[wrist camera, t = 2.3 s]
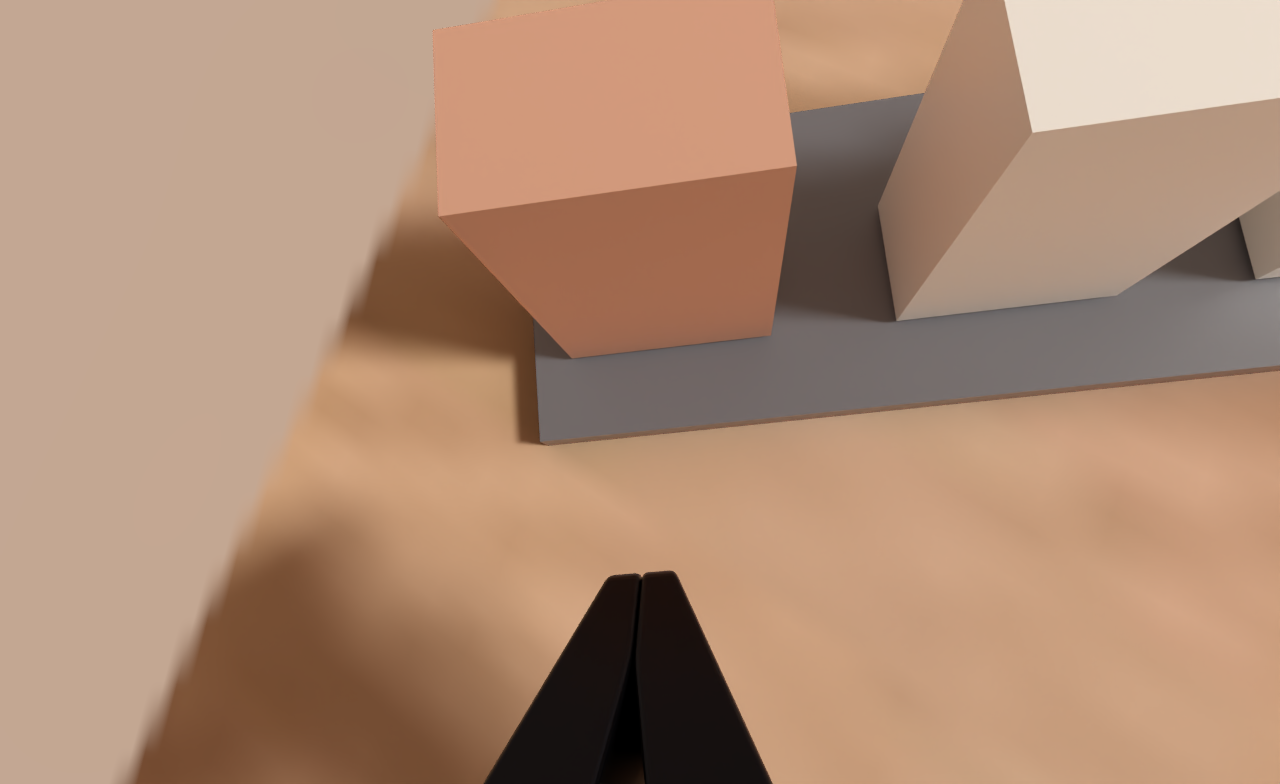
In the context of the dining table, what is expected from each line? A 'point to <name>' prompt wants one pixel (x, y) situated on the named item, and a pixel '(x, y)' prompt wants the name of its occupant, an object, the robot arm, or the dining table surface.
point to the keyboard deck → (907, 321)
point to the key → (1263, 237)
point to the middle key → (1079, 148)
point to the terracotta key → (622, 167)
